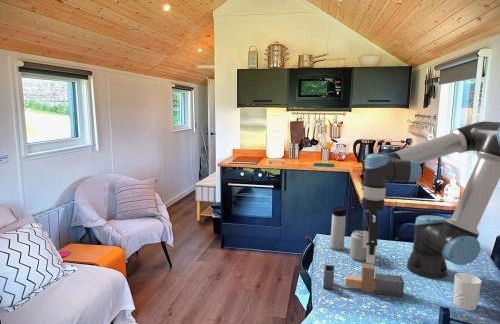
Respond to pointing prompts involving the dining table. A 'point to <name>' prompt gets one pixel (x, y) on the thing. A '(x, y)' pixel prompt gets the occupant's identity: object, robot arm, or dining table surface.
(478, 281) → the white cup
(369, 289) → the l-shaped wooden block pair
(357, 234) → the can
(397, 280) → the sleeve
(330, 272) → the socket
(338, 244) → the travel mug
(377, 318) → the dining table surface
